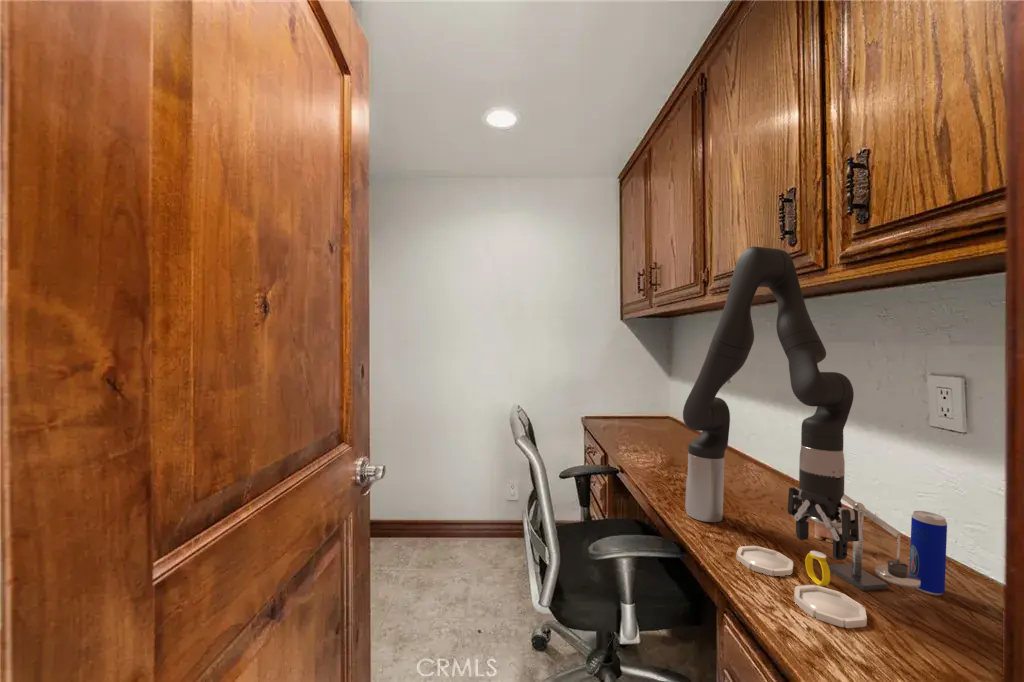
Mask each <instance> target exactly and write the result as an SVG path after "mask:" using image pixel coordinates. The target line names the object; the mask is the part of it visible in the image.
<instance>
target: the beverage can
mask: <svg viewBox="0 0 1024 682" xmlns="http://www.w3.org/2000/svg"><path fill="white" fill-rule="evenodd" d="M910 520H911V521H910V522H911V523H910V524H911V525H910V546H909V547H910V549H909V550H910V553H909V555H910V556H909V572H910V573H912V574H914V575H916V576H917V577H918V578H919V579H920V580H921V585H920V587H918V588H914V589H916V590H917V591H919V592H921V593H924V594H926V595H930V596H938V597H939V596H942V595H943V594H944V593H945V592H946V567H947V564H946V563H947V541H948V539H947V538H948V537H947V536H948V523H947V519H946V517H944V516H942V515H940V514H936V513H934V512H930V511H924V510H914V511H913V513H912V515H911V519H910Z"/></svg>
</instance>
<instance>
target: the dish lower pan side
mask: <svg viewBox="0 0 1024 682" xmlns="http://www.w3.org/2000/svg"><path fill="white" fill-rule="evenodd" d="M793 595H794V596H793V603H794V602H795V603H794V604H795V605H796V604H797V605H798V606H799V607H798V606H797V605H796V606H797V607H798V608H800V609H801V610H802V611H804V612H805V613H806V614H807V615H809V616H810V617H812V618H815V617H816V618H815V620H817V621H821V622H824V623H827V624H830V625H832V626H833V625H834V626H835V627H839V628H842V629H844V628H846V629H854V628H865V627H867V625H868V623H867V622H868V618H867V613H866V607H864V605H863V604H860V603H859V602H857V601H856V600H854V599H853V598H851V597H850V596H848V595H847V594H845V593H842V592H841V591H837V590H834V589H831V588H827V587H825V586H818V585H817V584H804V585H796V586H794V594H793Z"/></svg>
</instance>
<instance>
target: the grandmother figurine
mask: <svg viewBox="0 0 1024 682" xmlns="http://www.w3.org/2000/svg"><path fill="white" fill-rule="evenodd" d="M815 538H816V539H815ZM825 538H826V539H825ZM814 539H815V540H818V541H823V540H824V539H825V542H827V543H830V544H833V539H834V537H833V535H832V533H831V531H830V529H828V528H827V527H826V525H822V524H819V523H816V522H814Z"/></svg>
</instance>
